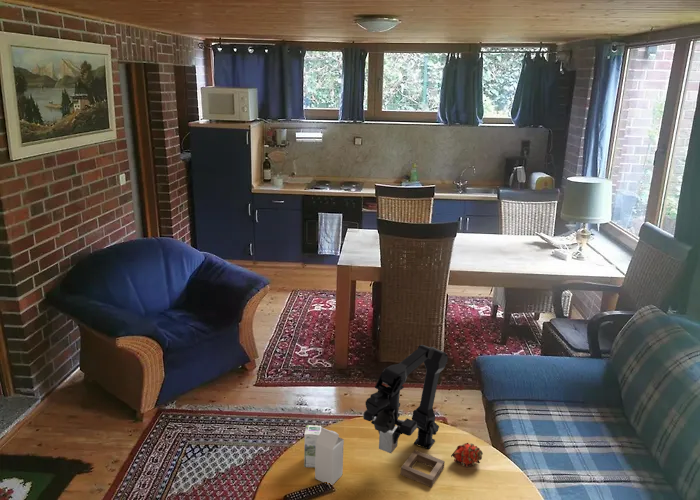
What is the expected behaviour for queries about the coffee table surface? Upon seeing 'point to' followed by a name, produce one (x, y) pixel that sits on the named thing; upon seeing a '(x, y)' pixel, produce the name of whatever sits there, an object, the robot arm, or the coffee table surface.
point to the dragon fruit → (467, 454)
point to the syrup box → (310, 445)
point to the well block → (418, 475)
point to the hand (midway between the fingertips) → (388, 440)
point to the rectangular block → (387, 441)
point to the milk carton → (328, 456)
